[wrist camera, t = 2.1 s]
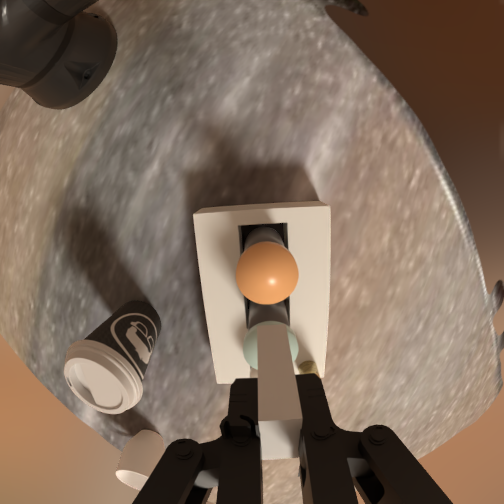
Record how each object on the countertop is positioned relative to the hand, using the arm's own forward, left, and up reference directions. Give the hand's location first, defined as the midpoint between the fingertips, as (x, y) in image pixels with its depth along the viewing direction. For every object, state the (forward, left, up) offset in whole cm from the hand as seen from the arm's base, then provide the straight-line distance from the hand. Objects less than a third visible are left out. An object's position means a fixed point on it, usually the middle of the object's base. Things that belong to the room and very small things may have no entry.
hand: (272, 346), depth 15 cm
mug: (+39, -25, -21) cm, 51 cm away
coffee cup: (+10, -18, -21) cm, 29 cm away
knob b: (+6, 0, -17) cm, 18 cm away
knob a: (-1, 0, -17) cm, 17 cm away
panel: (+6, 0, -21) cm, 22 cm away
